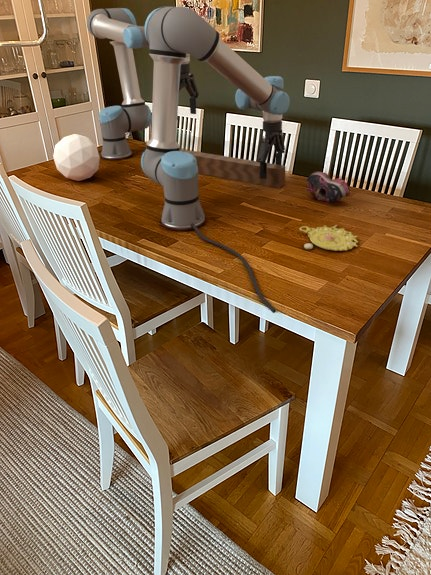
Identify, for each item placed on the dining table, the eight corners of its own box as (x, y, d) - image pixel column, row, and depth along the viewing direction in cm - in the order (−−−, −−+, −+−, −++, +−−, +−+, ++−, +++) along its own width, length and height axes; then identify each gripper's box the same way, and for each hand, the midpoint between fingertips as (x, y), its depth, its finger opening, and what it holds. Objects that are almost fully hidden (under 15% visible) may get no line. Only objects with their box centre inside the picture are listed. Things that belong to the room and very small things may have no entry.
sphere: (86, 196, 198) (71, 170, 180) (54, 175, 203) (36, 147, 184) (114, 167, 203) (101, 138, 185) (82, 146, 208) (67, 116, 189)
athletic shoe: (315, 170, 179) (291, 178, 175) (351, 165, 160) (325, 173, 156) (321, 198, 182) (297, 206, 178) (356, 196, 163) (330, 204, 159)
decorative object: (343, 255, 128) (285, 234, 139) (342, 262, 130) (284, 241, 140) (372, 230, 142) (317, 213, 152) (371, 237, 143) (316, 219, 153)
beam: (284, 184, 186) (285, 165, 182) (278, 188, 182) (279, 169, 178) (181, 165, 211) (180, 149, 207) (174, 168, 208) (173, 151, 203)
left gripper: (169, 66, 172) (173, 123, 184) (205, 60, 190) (207, 112, 201) (154, 65, 176) (159, 121, 187) (191, 59, 193) (193, 110, 205)
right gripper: (278, 113, 183) (276, 163, 195) (248, 126, 166) (248, 181, 177) (294, 114, 179) (291, 166, 191) (266, 128, 162) (264, 184, 174)
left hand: (184, 116), depth 194 cm, fingers open, 13 cm apart
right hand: (270, 173), depth 184 cm, fingers open, 13 cm apart
